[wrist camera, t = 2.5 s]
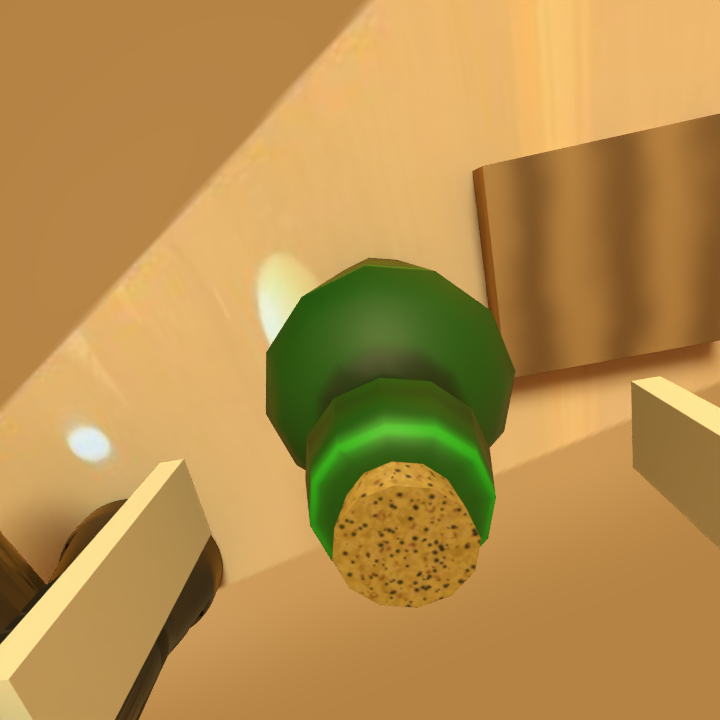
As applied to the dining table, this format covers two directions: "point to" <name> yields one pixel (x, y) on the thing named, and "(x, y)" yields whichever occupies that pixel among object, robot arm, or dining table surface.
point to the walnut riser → (604, 247)
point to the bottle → (393, 425)
